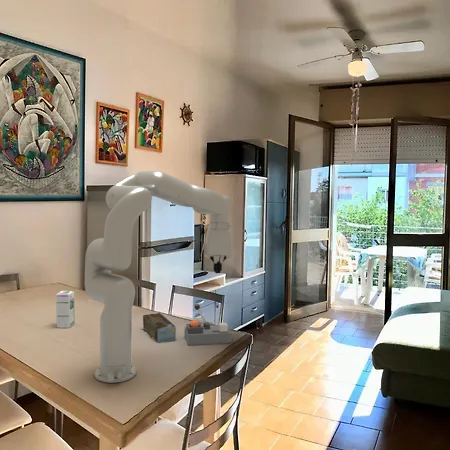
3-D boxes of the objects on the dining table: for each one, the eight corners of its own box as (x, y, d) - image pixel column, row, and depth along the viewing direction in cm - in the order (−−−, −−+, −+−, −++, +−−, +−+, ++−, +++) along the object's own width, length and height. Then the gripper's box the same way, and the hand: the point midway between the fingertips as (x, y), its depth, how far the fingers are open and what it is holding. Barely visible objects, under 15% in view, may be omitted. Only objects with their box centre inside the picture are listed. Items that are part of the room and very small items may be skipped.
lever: (210, 326, 172) (198, 304, 170) (205, 329, 172) (193, 306, 170) (209, 324, 174) (197, 302, 172) (204, 327, 174) (193, 305, 172)
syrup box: (70, 328, 180) (70, 293, 179) (55, 327, 180) (55, 293, 179) (74, 323, 186) (74, 290, 184) (60, 323, 186) (60, 290, 184)
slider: (227, 331, 168) (227, 325, 168) (220, 331, 168) (220, 325, 167) (225, 329, 171) (225, 322, 171) (218, 329, 170) (218, 323, 170)
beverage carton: (156, 343, 166) (156, 326, 165) (142, 329, 183) (142, 313, 182) (176, 340, 169) (176, 324, 169) (160, 326, 186) (160, 311, 186)
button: (199, 329, 167) (199, 322, 167) (191, 330, 166) (191, 322, 166) (197, 327, 170) (198, 319, 170) (189, 327, 169) (190, 320, 169)
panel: (231, 342, 168) (232, 327, 168) (188, 345, 164) (188, 329, 164) (225, 334, 178) (225, 319, 177) (184, 336, 174) (184, 321, 173)
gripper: (234, 226, 176) (233, 271, 177) (198, 225, 173) (197, 271, 174) (239, 227, 169) (238, 274, 170) (202, 227, 165) (200, 274, 166)
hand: (217, 272), depth 172 cm, fingers closed
